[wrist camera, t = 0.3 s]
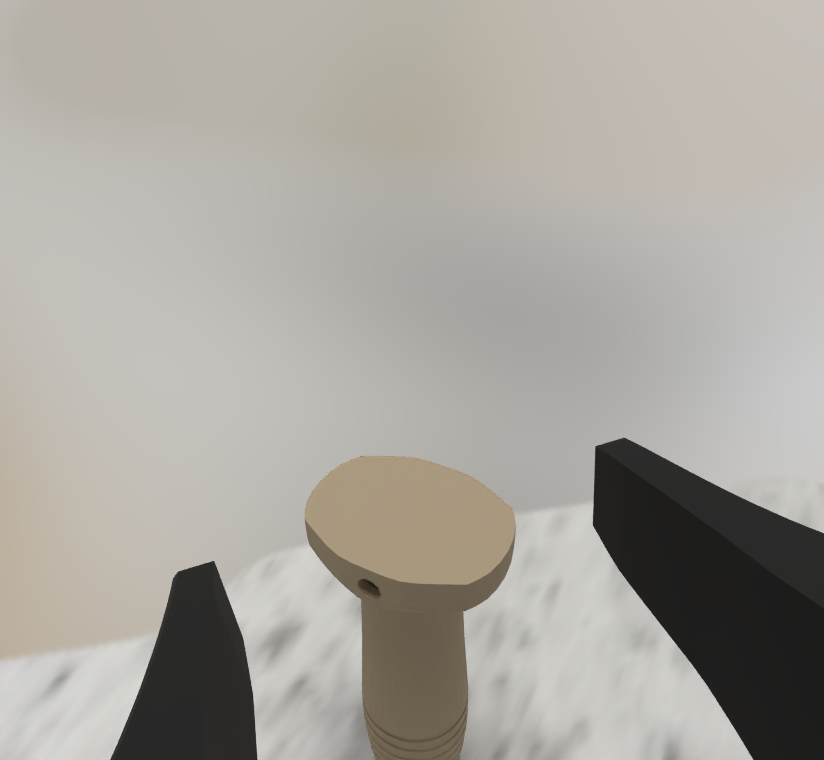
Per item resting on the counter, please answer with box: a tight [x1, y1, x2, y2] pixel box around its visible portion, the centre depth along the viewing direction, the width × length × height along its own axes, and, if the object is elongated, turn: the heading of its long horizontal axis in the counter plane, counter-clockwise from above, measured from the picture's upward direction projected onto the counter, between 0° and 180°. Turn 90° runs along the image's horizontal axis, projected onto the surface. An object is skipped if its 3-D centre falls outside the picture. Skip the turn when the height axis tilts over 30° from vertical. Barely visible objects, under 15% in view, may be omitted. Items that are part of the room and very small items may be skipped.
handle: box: [305, 456, 516, 760], centre depth 26 cm, size 5×6×15 cm
